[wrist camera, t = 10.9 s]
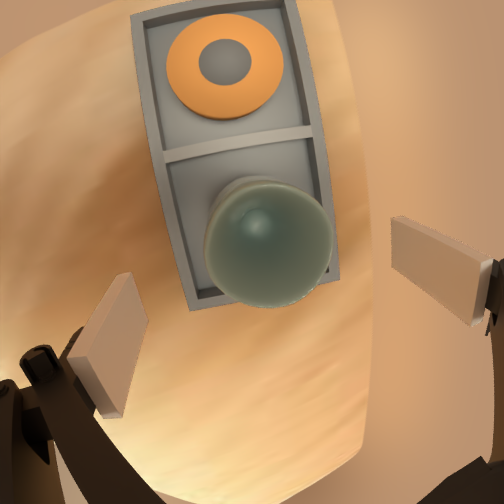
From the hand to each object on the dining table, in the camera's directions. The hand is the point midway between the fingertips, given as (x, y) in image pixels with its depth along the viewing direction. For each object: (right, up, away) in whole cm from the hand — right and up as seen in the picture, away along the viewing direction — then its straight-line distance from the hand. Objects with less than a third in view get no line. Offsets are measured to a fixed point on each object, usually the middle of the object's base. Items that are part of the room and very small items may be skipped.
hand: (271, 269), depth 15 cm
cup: (-1, +4, +13) cm, 14 cm away
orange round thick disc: (-3, +16, +9) cm, 19 cm away
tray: (-2, +10, +11) cm, 15 cm away
